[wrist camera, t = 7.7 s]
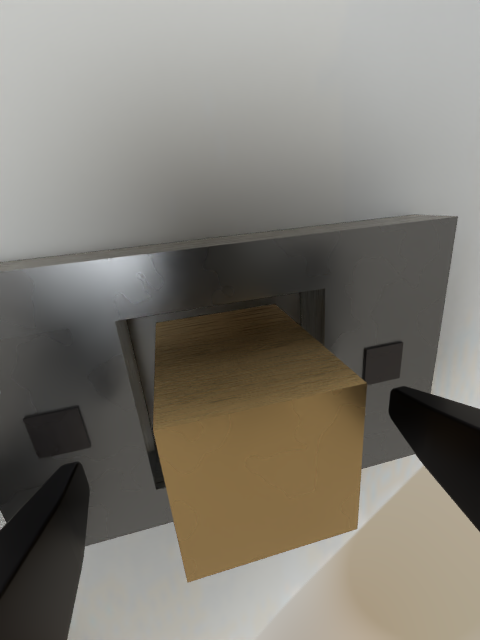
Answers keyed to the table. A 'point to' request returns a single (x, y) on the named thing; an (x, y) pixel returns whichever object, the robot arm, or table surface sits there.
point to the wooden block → (254, 436)
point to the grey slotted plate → (190, 293)
